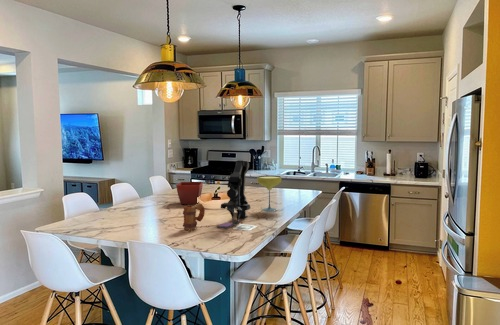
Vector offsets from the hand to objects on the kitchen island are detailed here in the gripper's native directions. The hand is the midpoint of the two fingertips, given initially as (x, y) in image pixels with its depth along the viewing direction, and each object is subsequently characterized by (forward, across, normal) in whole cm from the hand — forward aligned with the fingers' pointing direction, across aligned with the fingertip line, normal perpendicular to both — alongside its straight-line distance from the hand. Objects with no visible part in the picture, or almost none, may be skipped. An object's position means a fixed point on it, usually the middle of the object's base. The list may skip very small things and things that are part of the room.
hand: (235, 219), depth 236 cm
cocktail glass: (+3, +5, +47) cm, 47 cm away
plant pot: (+3, -66, +48) cm, 82 cm away
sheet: (+2, +10, -7) cm, 12 cm away
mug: (+3, -18, -21) cm, 28 cm away
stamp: (+3, 0, 0) cm, 3 cm away
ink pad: (+2, -2, -9) cm, 10 cm away
